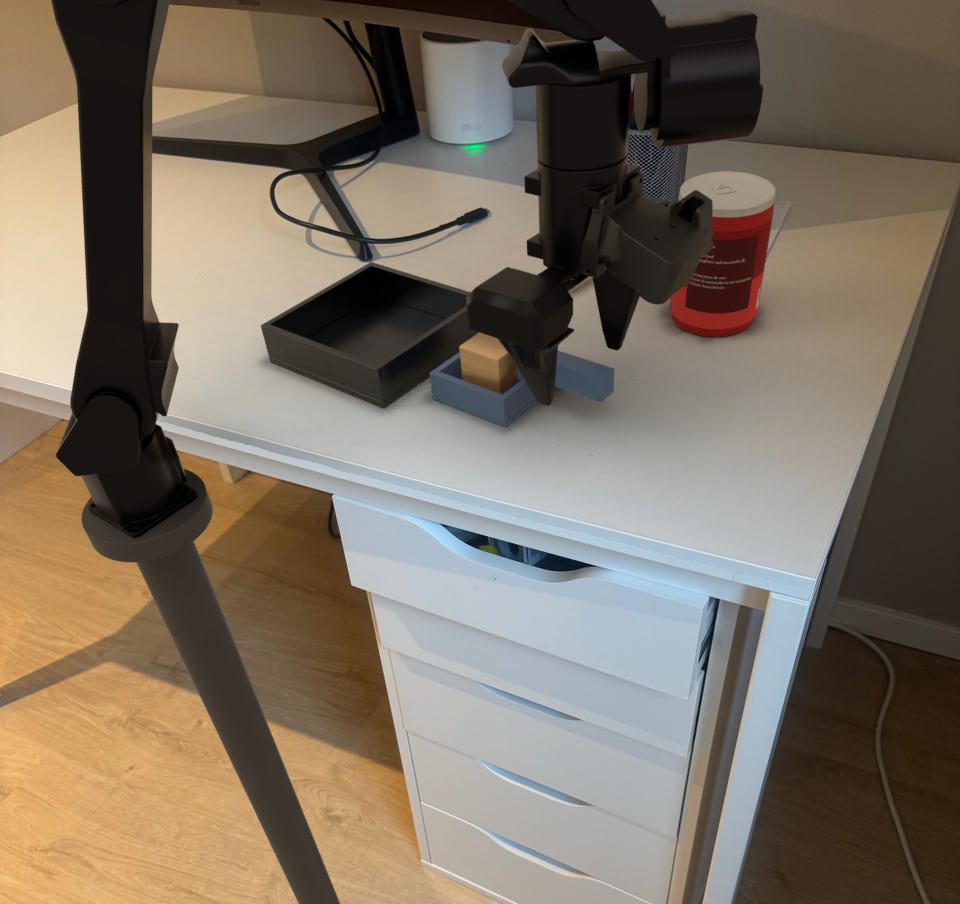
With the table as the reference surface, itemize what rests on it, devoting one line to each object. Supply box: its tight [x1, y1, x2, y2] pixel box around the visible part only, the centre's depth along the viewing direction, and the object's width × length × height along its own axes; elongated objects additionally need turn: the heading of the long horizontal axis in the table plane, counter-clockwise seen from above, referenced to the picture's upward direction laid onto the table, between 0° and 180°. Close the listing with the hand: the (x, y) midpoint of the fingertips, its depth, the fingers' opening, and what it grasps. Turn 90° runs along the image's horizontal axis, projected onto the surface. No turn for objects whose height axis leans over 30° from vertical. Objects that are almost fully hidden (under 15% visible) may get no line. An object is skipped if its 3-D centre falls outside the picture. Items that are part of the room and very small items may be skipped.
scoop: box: [429, 349, 615, 428], centre depth 72 cm, size 8×15×5 cm, turn 51°
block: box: [459, 333, 521, 395], centre depth 74 cm, size 4×4×4 cm
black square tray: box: [260, 261, 479, 409], centre depth 80 cm, size 14×14×4 cm
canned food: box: [669, 171, 776, 338], centre depth 77 cm, size 8×8×11 cm
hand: (580, 375), depth 68 cm, fingers open, 9 cm apart
